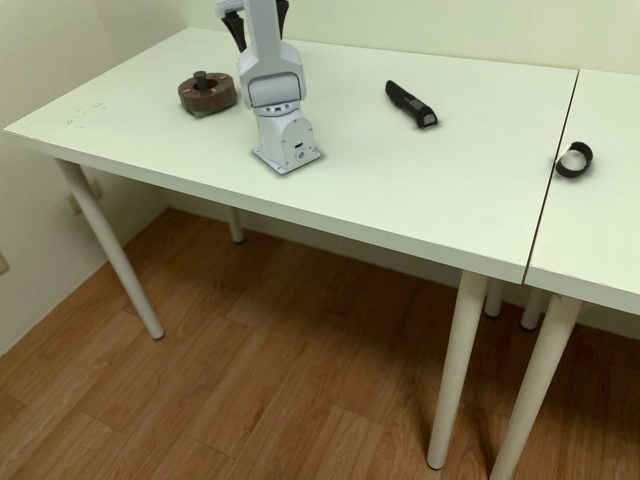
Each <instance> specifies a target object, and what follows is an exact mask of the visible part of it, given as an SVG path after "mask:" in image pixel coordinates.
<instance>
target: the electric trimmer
mask: <svg viewBox="0 0 640 480" xmlns="http://www.w3.org/2000/svg"><path fill="white" fill-rule="evenodd" d="M384 92H385V93H386V95H387V96H388V98H389V99H390V100H391V101H392V102H393V104H394V105H395V106H396V107H397V108H401V109H404V110H405V111H406V112H407V113H408V114H409V115H410V116H412V118H414V119H415V120H416V123H417V126H418V127H419V128H420V129H423V130H426V129H429V128H433V127H436V126H437V124H438V123H439V122H438V121H439V120H438V116H437V114H436V113H435V111H434V109H433V108H432V107H431V106H429V105H427V104H426V103H425V102H423V101H422V100H420V99H419V98H417V97H416V96H414V95H413V94H412V93H410V92H408V91H407V90H406V89H404V88H403V87H402V86H400V85H399V84H397V83H396V82H395V81H393V80H392V79H388V80H387V81H386V82H385V87H384Z"/></svg>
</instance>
